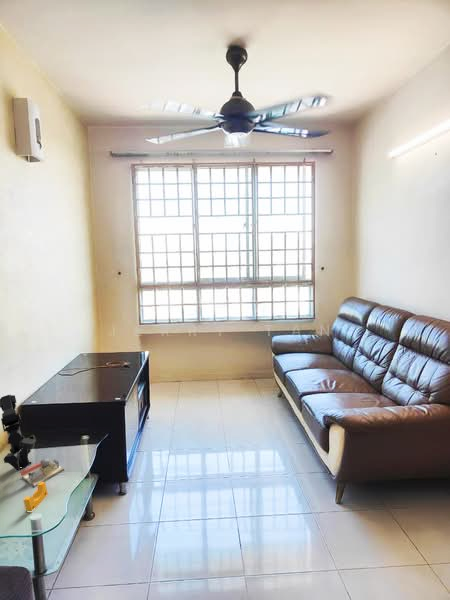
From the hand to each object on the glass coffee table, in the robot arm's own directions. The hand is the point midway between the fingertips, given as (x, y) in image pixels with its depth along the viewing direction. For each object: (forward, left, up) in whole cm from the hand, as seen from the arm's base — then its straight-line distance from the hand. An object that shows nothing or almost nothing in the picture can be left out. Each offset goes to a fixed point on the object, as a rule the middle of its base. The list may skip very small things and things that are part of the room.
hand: (22, 464), depth 194 cm
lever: (+8, +3, -2) cm, 9 cm away
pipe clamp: (+28, -6, -8) cm, 30 cm away
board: (+6, +6, -7) cm, 11 cm away
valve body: (+8, +6, -7) cm, 12 cm away
